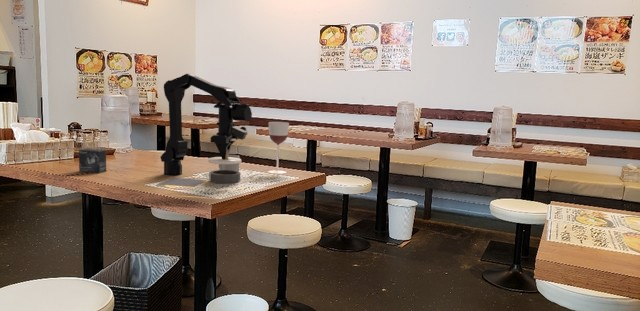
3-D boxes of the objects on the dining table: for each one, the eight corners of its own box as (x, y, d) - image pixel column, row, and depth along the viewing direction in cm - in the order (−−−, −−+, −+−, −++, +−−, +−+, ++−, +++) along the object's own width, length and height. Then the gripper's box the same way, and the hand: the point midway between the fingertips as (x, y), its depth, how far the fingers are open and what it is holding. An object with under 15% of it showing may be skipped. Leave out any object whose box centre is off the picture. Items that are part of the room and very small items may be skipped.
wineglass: (263, 172, 224) (264, 122, 221) (273, 169, 234) (275, 121, 231) (281, 174, 221) (282, 123, 218) (290, 171, 230) (292, 122, 227)
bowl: (205, 183, 192) (205, 173, 192) (215, 178, 204) (215, 169, 203) (234, 185, 191) (235, 175, 190) (243, 180, 203) (243, 171, 202)
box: (78, 172, 206) (78, 149, 205) (86, 170, 211) (86, 148, 210) (99, 173, 204) (98, 151, 203) (106, 171, 210) (106, 149, 209)
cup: (231, 178, 206) (231, 157, 205) (213, 175, 211) (213, 155, 210) (242, 176, 212) (242, 156, 211) (224, 173, 217) (224, 153, 216)
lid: (203, 163, 191) (203, 150, 190) (214, 158, 203) (214, 146, 203) (236, 165, 189) (236, 152, 189) (245, 160, 202) (245, 148, 201)
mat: (158, 185, 185) (158, 184, 185) (173, 179, 199) (173, 177, 199) (194, 188, 183) (194, 186, 183) (207, 181, 197) (207, 180, 197)
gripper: (238, 122, 184) (237, 163, 186) (251, 119, 202) (250, 157, 204) (210, 120, 185) (209, 161, 187) (225, 118, 204) (224, 155, 206)
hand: (224, 158), depth 196 cm, fingers closed on lid, 3 cm apart
